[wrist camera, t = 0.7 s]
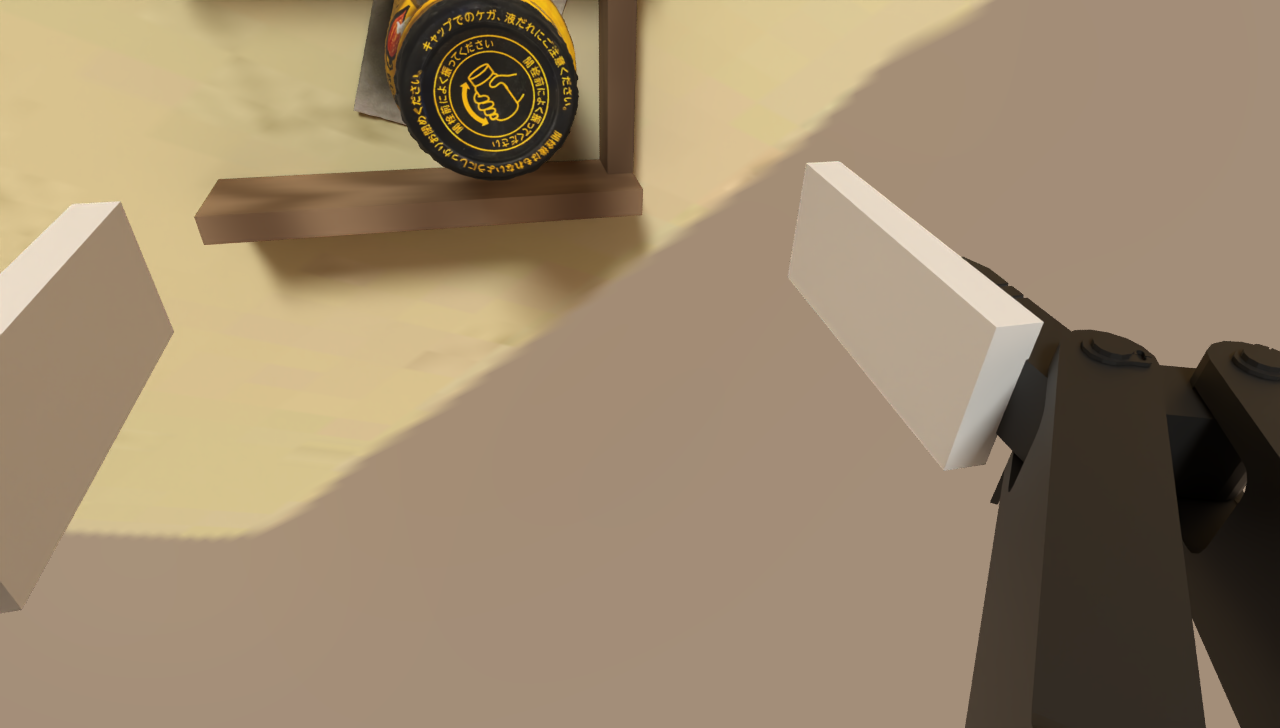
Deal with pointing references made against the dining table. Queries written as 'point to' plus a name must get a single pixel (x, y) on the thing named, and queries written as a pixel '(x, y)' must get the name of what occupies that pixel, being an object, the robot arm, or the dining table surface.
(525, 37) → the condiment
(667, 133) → the dining table surface
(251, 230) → the walnut shelf lane
